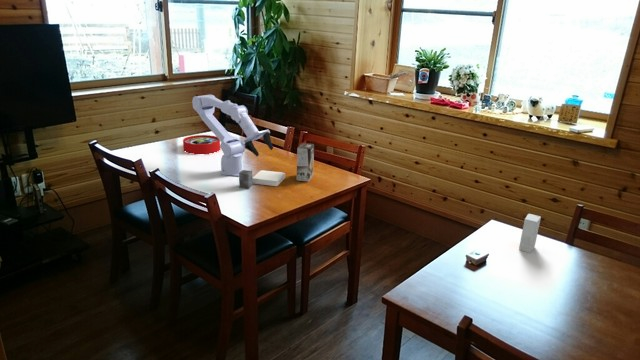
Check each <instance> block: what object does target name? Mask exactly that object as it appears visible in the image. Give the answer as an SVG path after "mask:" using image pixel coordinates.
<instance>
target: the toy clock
mask: <svg viewBox="0 0 640 360" xmlns="http://www.w3.org/2000/svg"><path fill="white" fill-rule="evenodd" d="M182 145H183V146H182V147H183V152H184V151H186V152H188V153H187V154H189V153H194V154H193V155H196V154H204V155H210V154H209V153H212V154H215V153H214V152H216V153H218V152H220V151H221V148H220V145H221V141H220V140H219V139H218V138H217V137H216V135H215V136H214V135H209V134H200V135H199V134H196V135H190V136H186V137H184V138H183V139H182ZM219 150H220V151H219ZM217 151H218V152H217ZM186 152H185V153H186Z"/></svg>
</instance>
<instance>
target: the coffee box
mask: <svg viewBox="0 0 640 360" xmlns="http://www.w3.org/2000/svg"><path fill="white" fill-rule="evenodd" d="M296 151H297V152H296V181H300V182H301V181H302V182H307V183H308V182H310V181H311V179H312V178H313V177H314V160H315V159H314V157H315V156H314V155H315V144H314V143H307V142H306V143H304V142H301V143H300V144H299V146H298V147H297V150H296Z"/></svg>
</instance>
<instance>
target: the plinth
mask: <svg viewBox="0 0 640 360" xmlns="http://www.w3.org/2000/svg"><path fill="white" fill-rule="evenodd" d="M285 179H286V172H281V171H273V170H271V171H270V170H264V169H263V170H262V169H261V170H259V171H258V172H257V173H256V174H255V175H254V176H252V184H253V185H254V184H255V185H265V186H269V187H270V186H271V187H278V186H279V185H280V184H281V183H282V182H283V180H285Z"/></svg>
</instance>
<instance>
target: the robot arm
mask: <svg viewBox="0 0 640 360" xmlns="http://www.w3.org/2000/svg"><path fill="white" fill-rule="evenodd" d="M191 102H192V108H193V110H194V111H195V112H196V113H197V114H198V115H199V117H200V119H201V121H202V122H203V123H204V124H205V125H206V127H208V128H209V130H210V131H211V132H212V133H213V134H214V135H215V136H216V137H217V138H218V139H219V140H220V150H221V151H222V153H223V154H222V156H221V160H220V168H221V170H220V172H221V173H220V174H221V175H225V176H232V177H239V173H240V172H241V171H242V170H243V161H242V160H243V157H242V156H243V155H244V154H243V153H244V152H245V150H248V151H249V152H251V153H252V154H253V155H255V157H259V155H260V154H259V152H258V150H257V149H256V147H255V145H254V143H253V142H255V141H257V140H258V139H261V138H263V139H262V141H263V142H264V143H265V144H266V145H267V147H268V148H269V150H270V151H272V150H273V149H274V146H273V143H272V140H271V131H270V130H269V129H265V130H261V131H259V129H258V128H257V126H256V125H255V123H254V122H253V120H252V119H251V118H250V116H249V111H248V108H247V107H246V106H245V105H244V104H242V105H238V104H237V103H233V102H231V100H229V99H228V100H225V101H223V100H221V99H219V98H217V97H216V96H215V95H213V94H212V93H211V94H205V95H204V94H203V95H198V96H197V95H194V96H193V97H192V101H191ZM215 108H217V109H220V111H221V112H222V113H224V114H226V115H228V116H230V118H231V119H232V120H233V121H234V122H236V123H237V124H238V126H240V129H242V131H243V133H244V134H245V135H246V138H244V139H242V140H240V139H239V138H238V137H236V136H232V135H231V134H230V133H229V132H228V130H226V128H225V127H224V126H223V125H222V124H221V123H220V122H219V121H218V119H217V118H216V117H215V115H213V114H214V113H215Z"/></svg>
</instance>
